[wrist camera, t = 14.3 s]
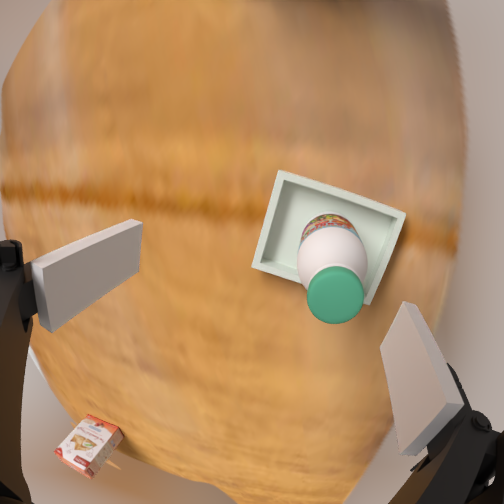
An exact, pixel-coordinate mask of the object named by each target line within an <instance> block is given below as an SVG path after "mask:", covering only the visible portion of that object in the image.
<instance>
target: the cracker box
mask: <svg viewBox="0 0 504 504" xmlns="http://www.w3.org/2000/svg"><path fill="white" fill-rule="evenodd" d="M123 438H124V436H123V435H122V433H121V431H120V429H119V427H117V426H114V425H112V424H109V423H107V422H105V421H102V420H100V419H98V418H95V417H93V416H91V415H89V414H88V415H87V416H86V417H85V418H84V419H83V420H82V421H81V422H80V423H79V425H78V426H77V427H76V428H75V429H74V430H73V431H72V432H71V433H70V434H69V436H67V438H66V439H65V440H64V441H63V442H62V443H61V444H60V445H59V446H58V447H57V449H56V450H55V451H54V452H55V454H56V455H57V456H58V457H59V459H60V460H61V461H62V462H63V463H65V464H66V465H68V466H70V467H72V468H73V469H75V470H76V471H78V472H79V473H81V474H83V475H85V476H87V477H88V478H90V479H93V478H94V477H95V475H96V473H98V471H99V470H100V468H101V467H102V466H103V465H104V463H105V462H106V461H107V459H108V458H109V457H110V455H111V454H112V453H113V451H114V450H115V449H116V447H117V446H118V445H119V443H120V442H121V441H122V439H123Z"/></svg>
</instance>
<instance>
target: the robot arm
mask: <svg viewBox="0 0 504 504" xmlns="http://www.w3.org/2000/svg"><path fill="white" fill-rule="evenodd" d="M142 228H143V222H139V221H136V220H133V219H130V220H127V221H125V222H122V223H119V224H117V225H114V226H112V227H109V228H107V229H104V230H102V231H99V232H97V233H94V234H92V235H89V236H87V237H84V238H82V239H80V240H77V241H75V242H73V243H70V244H68V245H66V246H63V247H61V248H59V249H57V250H54V251H52V252H50V253H48V254H45V255H43V256H41V257H39V258H37V259H35V260H32V261H30V262H28V263H26V264H24V262H23V252H22V244H21V242H19V241H17V240H4V241H0V504H34V503H32V502H31V496H30V492H29V488H28V485H27V483H26V481H25V479H24V477H23V473H22V467H21V408H22V393H23V384H24V375H25V367H26V360H27V354H28V348H29V342H30V337H31V332H32V327H33V318H32V316H33V315H34V314H36V313H37V312H38V317H39V322H40V325H41V326H43V327H44V328H45V329H47V330H48V331H50V332H51V333H53V332H54V331H55V330H57V329H58V328H59V327H61V326H62V325H64V324H65V323H66V322H68V321H69V320H70V319H72V318H73V317H74V316H76V315H77V314H79V313H80V312H81V311H83V310H84V309H86V308H87V307H88V306H90V305H91V304H93V303H94V302H95V301H97V300H98V299H100V298H101V297H102V296H104V295H105V294H107V293H108V292H110V291H111V290H112V289H114V288H115V287H117V286H118V285H120V284H121V283H123V282H124V281H126V280H127V279H128V278H130V277H131V276H133V275H134V274H136V273H137V272H139V263H140V250H141V239H142ZM380 351H381V356H382V360H383V364H384V369H385V374H386V378H387V383H388V388H389V393H390V399H391V404H392V410H393V416H394V422H395V428H396V435H397V442H398V449H399V454H400V455H415V456H416V455H417V454H418V453H419V452H421V451H422V449H424V448H425V447H426V446H427V450H428V455H426V456H425V457H424V458H423V459H422V460H421V461H420V462H419V463H418V464H417V465H415V466H414V467H413V468H412V469H411V470H410V471H413V470H414V472H413V473H412V474H411V476H410V477H409V478H408V480H407V481H406V483H405V484H404V485H403V486H402V487H401V489H400V490H399V491H398V492H397V494H396V495H395V496H394V497H393V498H392V500H391V501H390V502H389V503H388V504H504V431H503V432H502V433H499V432H496V431H494V430H492V427H491V423H490V421H489V420H488V418H487V417H486V416H484V414H482V413H481V412H479V411H475V410H472V409H471V406H470V404H469V402H468V399H467V397H466V394H465V392H464V390H463V389H462V385H461V383H460V382H459V379H458V376H457V374H456V372H455V371H454V370H453V368H452V367H451V366H450V365H449V364H448V363H446V361H445V359H444V357H443V355H442V353H441V351H440V349H439V347H438V345H437V343H436V341H435V339H434V337H433V335H432V333H431V331H430V329H429V327H428V326H427V324H426V322H425V320H424V318H423V316H422V314H421V313H420V311H419V309H418V307H417V305H415V304H412V303H408V302H405V301H403V302H402V304H401V306H400V308H399V311H398V313H397V315H396V317H395V319H394V321H393V323H392V325H391V327H390V329H389V331H388V332H387V334H386V336H385V338H384V340H383V342H382V344H381V346H380ZM494 476H495V478H494V481H493V483H492V484H491V485H489V486H488V484H489V480H490V479H491V478H492V477H494Z"/></svg>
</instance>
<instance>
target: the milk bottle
mask: <svg viewBox="0 0 504 504" xmlns="http://www.w3.org/2000/svg"><path fill="white" fill-rule="evenodd" d="M367 267H368V261H367V254H366V251H365V248H364V245H363V243H362V241H361V239H360V237H359V235H358V233H357V231H356V229H355V228H354V226H353V224H352V223H351V222H350V220H349V219H348V218H346V217H345V216H344V215H342V214H340V213H337V212H332V211H327V212H321V213H319V214H317V215H315V216H313V217H312V218H311V219H310V220H309V221H308V222H307V224H306V225H305V227H304V230H303V232H302V236H301V240H300V244H299V249H298V254H297V271H298V275H299V278H300V280H301V282H302V284H303V286H304V287H305V288H306V290H307V303H308V306H309V309H310V310H311V312H312V313H313V315H314V316H315V317H316V318H318V319H319V320H321V321H323V322H325V323H330V324H340V323H344V322H347V321H349V320H351V319H352V318H353V317H355V316H356V315H357V314H358V312H359V311H360V309H361V308H362V305H363V302H364V289H363V285H362V284H363V282H364V280H365V277H366V273H367Z"/></svg>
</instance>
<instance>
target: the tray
mask: <svg viewBox="0 0 504 504" xmlns="http://www.w3.org/2000/svg"><path fill="white" fill-rule="evenodd" d="M327 211H332V212H337V213H340V214H342V215H344V216H345V217H346V218H348V219H349V220H350V222H351V223H352V224H353V226H354V228H355V229H356V231H357V233H358V235H359V237H360V239H361V241H362V243H363V245H364V248H365V251H366V254H367V261H368V267H367V273H366V277H365V280H364V282H363V284H362V285H363V289H364V302H363V303H364V304H367V305H370V303H371V301H372V299H373V297H374V294H375V292H376V290H377V288H378V285H379V283H380V281H381V279H382V276H383V274H384V271H385V269H386V267H387V264H388V262H389V259H390V257H391V254H392V252H393V249H394V247H395V244H396V241H397V239H398V236H399V233H400V231H401V228H402V225H403V222H404V219H405V216H406V213H404V212H403V211H401V210H398V209H396V208H393V207H391V206H388V205H386V204H383V203H380V202H378V201H375V200H372V199H369V198H367V197H364V196H361V195H358V194H356V193H353V192H350V191H347V190H344V189H341V188H338V187H335V186H332V185H329V184H326V183H323V182H320V181H317V180H314V179H310V178H307V177H304V176H301V175H297V174H294V173H291V172H287V171H284V170H278V173H277V177H276V181H275V184H274V188H273V191H272V195H271V199H270V202H269V206H268V209H267V213H266V217H265V220H264V224H263V227H262V231H261V234H260V238H259V242H258V245H257V249H256V252H255V256H254V259H253V263H252V268H255V269H258V270H261V271H265V272H268V273H271V274H274V275H277V276H280V277H283V278H286V279H289V280H292V281H295V282H298V283H301V284H302V282H301V280H300V278H299V275H298V271H297V254H298V249H299V244H300V240H301V236H302V232H303V230H304V227H305V225H306V224H307V222H308V221H309V220H310V219H311V218H312V217H313V216H315V215H317V214H319V213H321V212H327Z"/></svg>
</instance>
